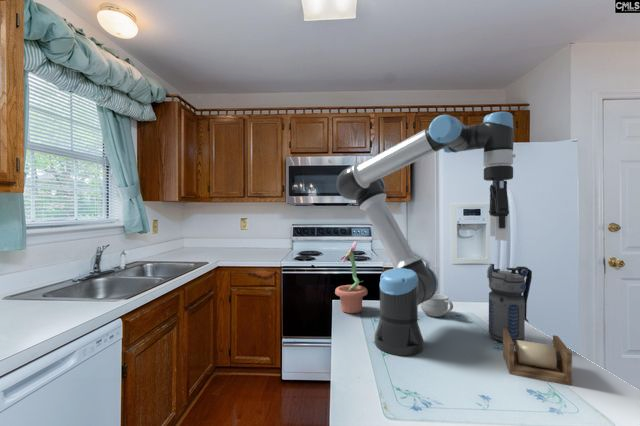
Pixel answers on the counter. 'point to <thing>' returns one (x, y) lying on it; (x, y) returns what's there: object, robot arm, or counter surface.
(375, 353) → the counter surface
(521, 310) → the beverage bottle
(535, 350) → the cylinder
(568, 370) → the holder
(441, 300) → the teacup
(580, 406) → the counter surface
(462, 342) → the counter surface
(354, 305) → the decorative flower
